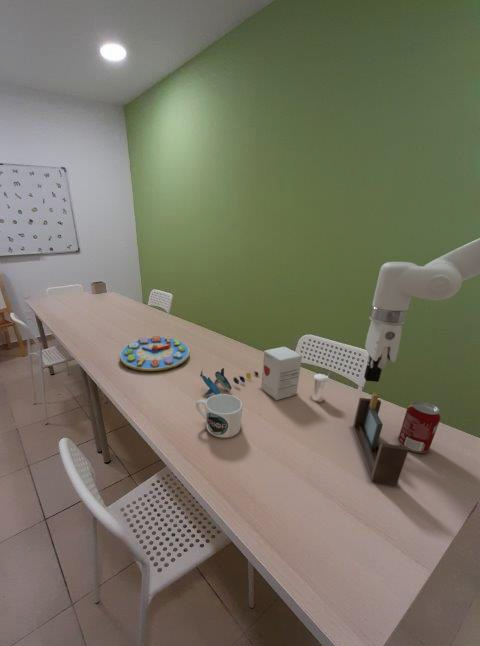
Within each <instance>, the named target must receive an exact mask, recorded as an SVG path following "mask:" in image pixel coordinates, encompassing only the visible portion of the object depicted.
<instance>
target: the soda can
mask: <svg viewBox="0 0 480 646" xmlns="http://www.w3.org/2000/svg"><path fill="white" fill-rule="evenodd" d="M440 412H441V411H440V409H439V407H438V406H436V405H434V404H432V403H430V402H427V401H422V400H415V401H412V403H411V405H408V407H407V408H406V411H405V415H404V417H403V421H402V424H401V426H400V430H399V433H398V437H397V441H398V443H399V444H400V446H406V447H407V449H408V451H410V452H415V453H420V454H421V453H428V451H430V449H431V445H432V442H433V440H434V438H435V435H436V432H437V429H438V427H439V424H440V421H441V419H442V418H441V415H440Z"/></svg>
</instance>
